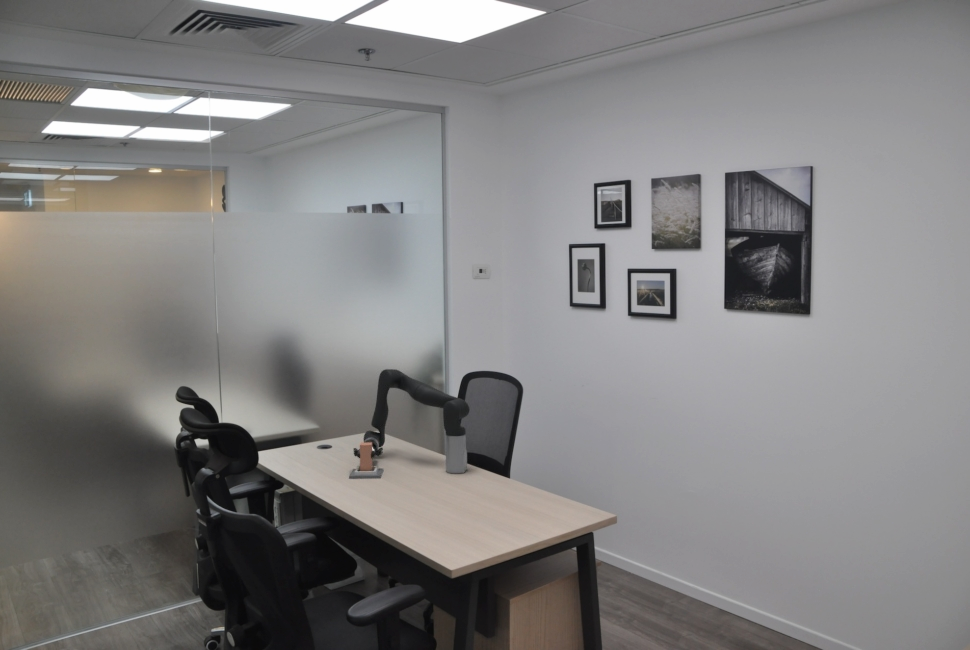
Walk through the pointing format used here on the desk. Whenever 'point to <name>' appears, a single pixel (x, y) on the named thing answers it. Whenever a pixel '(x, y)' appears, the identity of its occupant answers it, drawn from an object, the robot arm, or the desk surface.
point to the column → (366, 457)
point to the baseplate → (366, 473)
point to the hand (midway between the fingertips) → (365, 455)
